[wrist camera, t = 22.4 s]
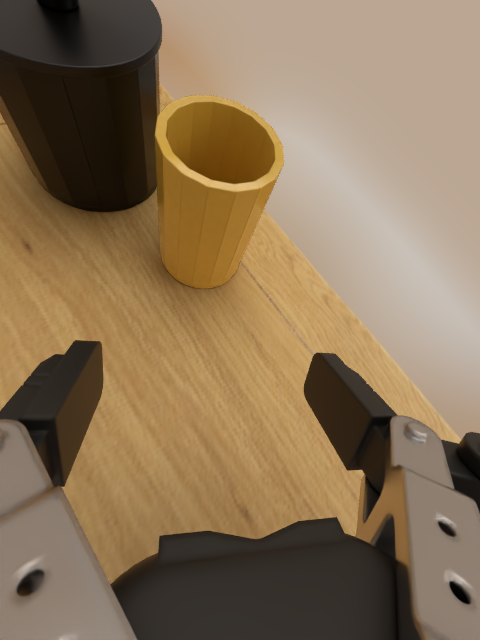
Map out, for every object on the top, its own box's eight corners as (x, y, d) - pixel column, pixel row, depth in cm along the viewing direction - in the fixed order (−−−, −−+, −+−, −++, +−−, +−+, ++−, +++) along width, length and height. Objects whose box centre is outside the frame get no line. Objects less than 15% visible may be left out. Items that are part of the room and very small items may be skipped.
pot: (18, 200, 20) (-92, 37, 12) (48, 112, 24) (-19, -64, 15) (155, 220, 23) (147, 95, 14) (165, 137, 26) (163, -4, 18)
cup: (198, 304, 21) (221, 213, 12) (143, 246, 22) (125, 117, 13) (253, 260, 24) (307, 158, 15) (203, 210, 24) (224, 82, 15)
